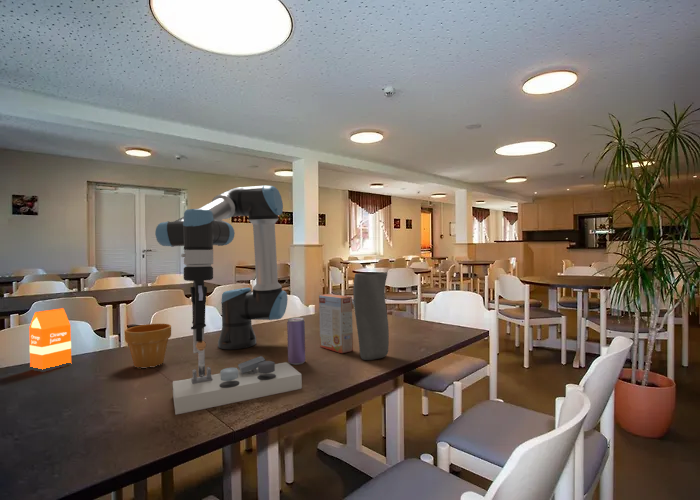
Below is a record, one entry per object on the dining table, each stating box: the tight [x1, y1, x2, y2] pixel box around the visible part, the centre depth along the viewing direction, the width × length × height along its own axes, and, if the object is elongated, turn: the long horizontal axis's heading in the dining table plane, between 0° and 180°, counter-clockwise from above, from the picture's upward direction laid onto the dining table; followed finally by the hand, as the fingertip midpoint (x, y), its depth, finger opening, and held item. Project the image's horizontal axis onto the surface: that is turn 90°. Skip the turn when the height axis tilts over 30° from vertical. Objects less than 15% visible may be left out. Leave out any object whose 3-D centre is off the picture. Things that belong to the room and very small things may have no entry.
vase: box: [352, 271, 390, 361], centre depth 131 cm, size 12×12×30 cm
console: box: [172, 361, 303, 416], centre depth 102 cm, size 13×32×7 cm, turn 118°
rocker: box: [237, 355, 267, 373], centre depth 106 cm, size 4×7×1 cm, turn 118°
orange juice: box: [28, 307, 72, 370], centre depth 128 cm, size 8×9×20 cm
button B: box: [219, 367, 239, 381], centre depth 97 cm, size 4×4×2 cm
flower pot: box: [124, 323, 172, 367], centre depth 128 cm, size 14×14×13 cm
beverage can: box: [286, 317, 307, 366], centre depth 127 cm, size 6×6×15 cm
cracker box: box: [318, 293, 354, 354], centre depth 143 cm, size 14×6×21 cm, turn 40°
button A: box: [258, 360, 276, 373], centre depth 102 cm, size 4×4×2 cm
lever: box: [196, 340, 207, 377], centre depth 100 cm, size 3×3×10 cm
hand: (198, 352), depth 101 cm, fingers closed
